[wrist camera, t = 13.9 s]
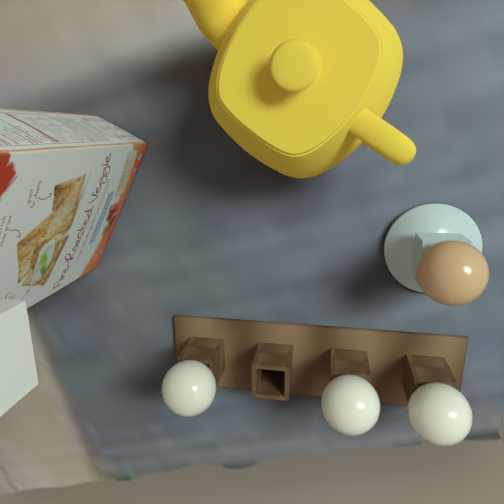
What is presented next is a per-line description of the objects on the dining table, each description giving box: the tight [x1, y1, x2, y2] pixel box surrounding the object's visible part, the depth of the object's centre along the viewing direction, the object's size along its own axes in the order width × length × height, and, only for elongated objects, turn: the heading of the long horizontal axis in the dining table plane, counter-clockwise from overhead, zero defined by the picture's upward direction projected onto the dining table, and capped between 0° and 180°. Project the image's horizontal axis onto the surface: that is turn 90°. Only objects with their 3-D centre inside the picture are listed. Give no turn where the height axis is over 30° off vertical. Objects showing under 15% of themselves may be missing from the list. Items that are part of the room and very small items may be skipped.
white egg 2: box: [321, 374, 380, 436], centre depth 36 cm, size 5×5×5 cm
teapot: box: [184, 0, 416, 178], centre depth 30 cm, size 13×20×12 cm
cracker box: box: [0, 108, 148, 308], centre depth 32 cm, size 14×6×21 cm, turn 152°
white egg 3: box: [408, 382, 472, 446], centre depth 35 cm, size 5×5×5 cm
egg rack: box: [174, 315, 468, 406], centre depth 41 cm, size 28×8×5 cm, turn 90°
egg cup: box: [384, 203, 482, 293], centre depth 36 cm, size 8×8×5 cm
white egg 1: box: [162, 360, 216, 417], centre depth 38 cm, size 5×5×5 cm
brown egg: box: [416, 240, 489, 306], centre depth 31 cm, size 5×5×5 cm
